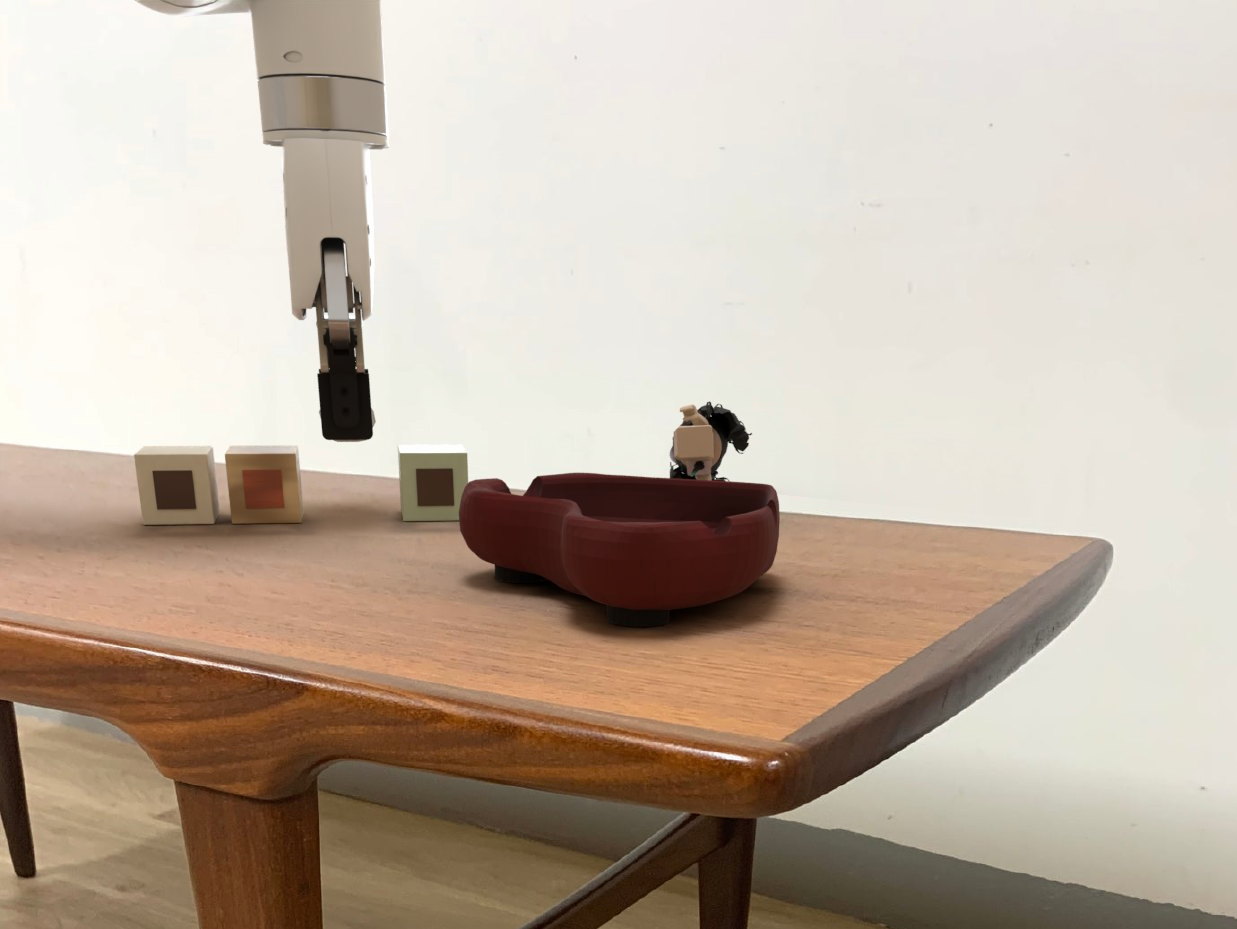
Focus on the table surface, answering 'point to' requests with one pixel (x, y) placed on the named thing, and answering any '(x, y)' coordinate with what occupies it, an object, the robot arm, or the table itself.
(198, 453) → the block
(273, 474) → the block
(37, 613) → the table surface
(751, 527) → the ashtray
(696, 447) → the toy figure
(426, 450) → the block
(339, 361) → the robot arm
